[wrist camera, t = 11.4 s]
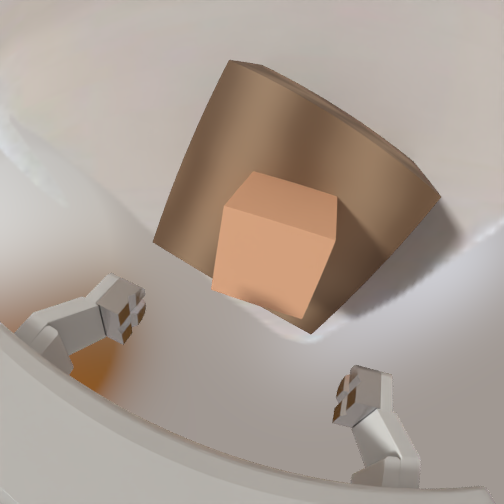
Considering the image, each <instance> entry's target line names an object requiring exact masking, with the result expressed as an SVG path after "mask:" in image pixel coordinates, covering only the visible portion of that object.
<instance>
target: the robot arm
mask: <svg viewBox="0 0 504 504" xmlns="http://www.w3.org/2000/svg"><path fill="white" fill-rule="evenodd" d="M144 296H145V289H144V288H142V287H140V286H138V285H136V284H134V283H132V282H129V281H128V280H125V279H123V278H121V277H119V276H117V275H115V274H113V273H110V274H108V275H107V276H106V277H105V278H104V279H103V280H102V281H101V282H100V283H99V284H98V285H97V286H96V287H95V288H94V289H93V290H92V291H91V292H90V293H89V294H88V295H87V297H86V298H84V297H80V298H77V299H73V300H70V301H68V302H64V303H62V304H58V305H55V306H52V307H49V308H46V309H43V310H40V311H37V312H34V313H33V314H32V315H31V316H30V317H29V318H28V319H27V320H26V321H25V322H24V323H23V324H22V325H21V326H20V327H19V329H18V330H17V331H16V332H15V333H12V332H11V331H10V330H9V329H8V328H7V327H5V326H4V325H3V324H2V323H1V322H0V504H495V502H494V500H493V498H492V496H491V494H490V492H489V491H488V490H487V488H486V487H484V486H474V487H461V488H440V489H419V480H420V462H421V461H420V460H421V458H420V457H419V455H418V453H417V451H416V449H415V447H414V445H413V443H412V441H411V440H410V438H409V436H408V434H407V432H406V430H405V428H404V427H403V425H402V423H401V421H400V419H399V417H398V415H397V414H396V412H393V377H392V375H391V374H388V373H384V372H380V371H378V370H374V369H370V368H366V367H362V366H359V365H355V366H353V367H352V368H351V370H350V375H347V376H345V377H344V378H343V379H342V381H341V382H340V385H339V387H338V390H337V395H336V399H337V401H338V403H339V404H338V405H337V406H336V407H335V409H334V415H333V422H332V423H334V424H338V425H342V426H346V427H350V428H352V431H353V434H354V437H355V440H356V443H357V445H358V448H359V451H360V454H361V457H362V460H363V463H364V466H365V469H362V470H360V471H358V472H356V473H354V474H353V475H352V477H351V483H344V482H337V481H331V480H325V479H320V478H315V477H309V476H305V475H300V474H296V473H291V472H287V471H283V470H279V469H275V468H272V467H268V466H264V465H261V464H257V463H254V462H251V461H247V460H244V459H241V458H238V457H235V456H232V455H229V454H226V453H223V452H220V451H217V450H215V449H212V448H209V447H207V446H204V445H202V444H199V443H196V442H194V441H192V440H189V439H187V438H184V437H182V436H179V435H177V434H175V433H173V432H170V431H168V430H166V429H164V428H162V427H160V426H157V425H155V424H153V423H151V422H149V421H147V420H145V419H143V418H141V417H139V416H137V415H135V414H133V413H131V412H129V411H127V410H126V409H124V408H122V407H120V406H118V405H117V404H114V403H113V402H111V401H110V400H108V399H106V398H104V397H102V396H101V395H99V394H98V393H96V392H94V391H93V390H91V389H89V388H88V387H86V386H85V385H83V384H81V383H80V382H78V381H77V380H75V379H74V378H72V377H71V376H69V374H70V373H71V371H72V370H73V364H72V362H71V360H70V358H69V355H71V354H73V353H74V352H77V351H79V350H81V349H83V348H85V347H87V346H88V345H91V344H93V343H95V342H97V341H99V340H101V339H103V338H105V337H106V336H107V337H109V338H111V339H113V340H115V341H117V342H119V343H121V344H123V345H124V344H125V342H126V341H127V339H128V338H129V337H130V335H131V334H132V327H134V326H137V325H139V323H140V322H141V320H142V318H143V316H144V314H145V310H146V303H145V301H144V300H143V297H144Z"/></svg>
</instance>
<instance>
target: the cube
mask: <svg viewBox="0 0 504 504" xmlns="http://www.w3.org/2000/svg"><path fill="white" fill-rule="evenodd" d="M336 223H337V196H334V195H331V194H328V193H325V192H322V191H319V190H316V189H312V188H309V187H306V186H303V185H299V184H296V183H293V182H290V181H286V180H283V179H279V178H276V177H272V176H269V175H265V174H262V173H258V172H255V171H253V172H252V173H251V174H250V175H249V177H248V178H247V179H246V180H245V181H244V183H243V184H242V185H241V186H240V187H239V188H238V190H237V191H236V192H235V193H234V194H233V196H232V197H231V198H230V199H229V200H228V202H227V203H226V204H225V205H224V208H223V215H222V221H221V227H220V233H219V240H218V246H217V253H216V259H215V266H214V273H213V280H212V287H211V290H214V291H217V292H220V293H223V294H225V295H228V296H231V297H234V298H237V299H240V300H243V301H246V302H249V303H252V304H255V305H258V306H262V307H265V308H268V309H271V310H274V311H277V312H280V313H283V314H287V315H290V316H293V317H296V318H299V319H302V318H303V316H304V314H305V311H306V309H307V307H308V305H309V303H310V300H311V298H312V296H313V294H314V291H315V289H316V287H317V284H318V282H319V280H320V277H321V275H322V273H323V270H324V268H325V266H326V263H327V261H328V258H329V256H330V253H331V251H332V249H333V246H334V244H335V241H336Z"/></svg>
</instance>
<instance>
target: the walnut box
mask: <svg viewBox="0 0 504 504" xmlns="http://www.w3.org/2000/svg"><path fill="white" fill-rule="evenodd" d="M253 171H255V172H258V173H262V174H265V175H269V176H272V177H276V178H279V179H283V180H286V181H290V182H293V183H296V184H299V185H303V186H306V187H309V188H312V189H316V190H319V191H322V192H325V193H328V194H331V195H334V196H337V223H336V241H335V244H334V246H333V249H332V251H331V253H330V256H329V258H328V261H327V263H326V266H325V268H324V270H323V273H322V275H321V277H320V280H319V282H318V284H317V287H316V289H315V291H314V294H313V296H312V298H311V300H310V303H309V305H308V307H307V309H306V311H305V314H304V316H303V318H302V319H299V318H296V317H293V316H290V315H287V314H283V313H280V312H277V311H274V310H271V309H268V308H265V307H263V308H264V309H266V310H268V311H270V312H272V313H273V314H275V315H277V316H279V317H280V318H282V319H284V320H286V321H288V322H289V323H291V324H293V325H295V326H297V327H299V328H300V329H302V330H304V331H306V332H308V333H310V334H312V333H313V332H314V331H315V330H317V329H318V328H319V327H320V326H321V325H322V324H323V323H324V322H325V321H326V320H327V319H328V318H329V317H330V316H332V315H333V314H334V313H335V312H336V311H337V310H338V309H339V308H340V307H341V306H342V305H343V304H344V303H345V302H346V301H347V300H348V299H349V298H350V297H351V296H352V295H353V294H354V293H355V292H356V291H357V290H358V289H359V288H360V287H361V286H362V285H363V284H364V283H365V282H366V281H367V280H368V279H369V278H370V277H371V276H372V275H373V274H374V273H375V272H376V271H377V270H378V269H379V268H380V266H381V265H382V264H383V263H384V262H385V261H386V260H387V259H388V258H389V257H390V256H391V255H392V254H393V252H394V251H395V250H396V249H397V248H398V247H399V246H400V245H401V244H402V243H403V241H404V240H405V239H406V238H407V237H408V236H409V235H410V233H411V232H412V231H413V230H414V229H415V228H416V227H417V225H418V224H419V223H420V222H421V221H422V220H423V218H424V217H425V216H426V215H427V214H428V212H429V211H430V210H431V209H432V208H433V206H434V205H435V204H436V203H437V201H438V200H439V199H440V198H441V196H440V195H439V193H438V192H437V191H436V189H435V188H434V187H433V185H432V184H431V183H430V181H429V180H428V179H427V178H426V176H425V175H424V174H423V173H422V171H421V170H420V169H419V168H418V167H417V165H416V164H415V163H414V162H413V161H412V160H411V159H410V158H408V157H407V156H406V155H405V154H403V153H402V152H401V151H400V150H398V149H397V148H396V147H394V146H393V145H392V144H390V143H389V142H388V141H386V140H385V139H384V138H382V137H381V136H380V135H378V134H377V133H375V132H374V131H373V130H371V129H370V128H368V127H367V126H365V125H364V124H363V123H361V122H360V121H358V120H357V119H355V118H354V117H352V116H351V115H349V114H348V113H346V112H344V111H343V110H341V109H340V108H338V107H337V106H335V105H333V104H332V103H330V102H329V101H327V100H325V99H324V98H322V97H320V96H319V95H317V94H315V93H314V92H312V91H310V90H308V89H307V88H305V87H303V86H301V85H299V84H298V83H296V82H294V81H292V80H290V79H288V78H287V77H285V76H283V75H281V74H279V73H277V72H275V71H273V70H271V69H269V68H267V67H265V66H263V65H259V64H253V63H247V62H240V61H233V60H229V61H228V63H227V65H226V67H225V69H224V71H223V73H222V75H221V77H220V79H219V81H218V83H217V85H216V87H215V89H214V91H213V94H212V96H211V98H210V100H209V102H208V104H207V106H206V108H205V111H204V113H203V115H202V117H201V119H200V122H199V124H198V126H197V128H196V131H195V133H194V135H193V138H192V140H191V142H190V145H189V147H188V149H187V152H186V154H185V157H184V159H183V161H182V164H181V166H180V169H179V171H178V174H177V176H176V179H175V182H174V184H173V187H172V189H171V192H170V195H169V197H168V200H167V203H166V205H165V208H164V211H163V214H162V216H161V219H160V222H159V225H158V228H157V231H156V234H155V237H154V240H153V243H155V244H157V245H158V246H160V247H162V248H163V249H165V250H166V251H168V252H170V253H171V254H173V255H175V256H176V257H178V258H180V259H181V260H183V261H185V262H186V263H188V264H190V265H191V266H193V267H194V268H196V269H198V270H199V271H201V272H203V273H204V274H206V275H208V276H209V277H211V278H213V273H214V266H215V259H216V253H217V246H218V240H219V233H220V227H221V221H222V215H223V208H224V205H225V204H226V203H227V202H228V200H229V199H230V198H231V197H232V196H233V194H234V193H235V192H236V191H237V190H238V188H239V187H240V186H241V185H242V184H243V183H244V181H245V180H246V179H247V178H248V177H249V175H250V174H251V173H252V172H253ZM261 307H262V306H261Z"/></svg>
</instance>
